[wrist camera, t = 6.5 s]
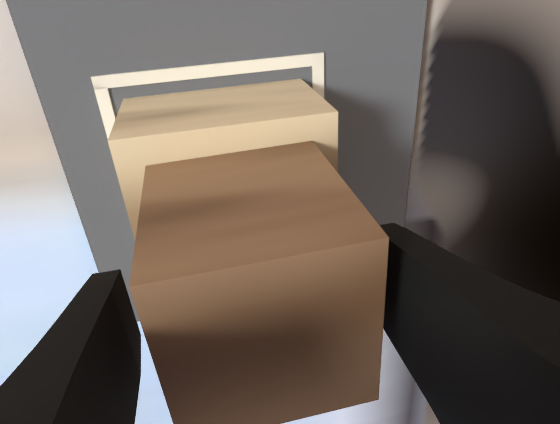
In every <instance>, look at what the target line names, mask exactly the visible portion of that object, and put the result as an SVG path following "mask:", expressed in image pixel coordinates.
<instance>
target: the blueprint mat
mask: <svg viewBox="0 0 560 424" xmlns="http://www.w3.org/2000/svg"><path fill="white" fill-rule="evenodd" d="M427 1H428V0H6V2H7V5H8V8H9V11H10V14H11V17H12V20H13V23H14V26H15V29H16V32H17V35H18V37H19V40H20V43H21V46H22V49H23V52H24V55H25V58H26V61H27V64H28V67H29V70H30V73H31V76H32V78H33V81H34V84H35V87H36V90H37V93H38V96H39V99H40V102H41V105H42V108H43V111H44V114H45V117H46V119H47V122H48V125H49V128H50V131H51V134H52V137H53V140H54V143H55V146H56V149H57V152H58V155H59V158H60V160H61V163H62V166H63V169H64V172H65V175H66V178H67V181H68V184H69V187H70V190H71V193H72V196H73V199H74V201H75V204H76V207H77V210H78V213H79V216H80V219H81V222H82V225H83V228H84V231H85V234H86V237H87V239H88V242H89V245H90V248H91V251H92V254H93V257H94V260H95V263H96V266H97V269H98V272H99V273H101V272H107V271H112V270H118V269H121V272H122V276H123V279H124V282H125V285H126V289H127V292H128V295H129V298H130V302H131V305H132V308H133V311H134V314H135V318H136V321H140V319H139V316H138V313H137V310H136V307H135V304H134V301H133V298H132V295H131V292H130V289H129V283H130V276H131V268H132V261H133V254H134V246H135V238H134V235H133V231H132V228H131V224H130V220H129V217H128V213H127V209H126V206H125V202H124V199H123V195H122V191H121V188H120V184H119V180H118V177H117V173H116V170H115V166H114V162H113V159H112V155H111V151H110V148H109V144H108V138H109V135H110V133H111V130H112V127H113V125H114V122H115V119H116V117H117V114H118V111H119V109H120V106H121V103H122V101H123V99H124V98H133V97H142V96H151V95H160V94H168V93H177V92H186V91H195V90H204V89H213V88H222V87H231V86H239V85H248V84H257V83H266V82H275V81H284V80H293V79H302V80H303V81H304V82H305V83H307V84H308V85H309V86H310V87H311V88H312V89H313V90H314V91H316V92H317V93H318V94H319V95H320V96H321V97H322V98H323V99H325V100H326V101H327V102H328V103H329V104H330V105H331V106H332V107H334V108H335V109H336V110H337V111H338V174H339V175H340V176H341V178H342V179H343V180H344V181H345V183H346V184H347V185H348V186H349V188H350V189H351V190H352V191H353V193H354V194H355V195H356V197H357V198H358V199H359V200H360V202H361V203H362V204H363V205H364V207H365V208H366V209H367V210H368V212H369V213H370V214H371V215H372V217H373V218H374V219H375V220H376V222H377V223H378V224H379V225H383V224H389V223H396V224H398V225H400V226H402V227H404V224H405V215H406V205H407V195H408V185H409V176H410V166H411V156H412V147H413V137H414V127H415V117H416V108H417V98H418V88H419V79H420V69H421V59H422V49H423V40H424V30H425V20H426V11H427Z"/></svg>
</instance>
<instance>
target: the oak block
mask: <svg viewBox="0 0 560 424" xmlns="http://www.w3.org/2000/svg"><path fill="white" fill-rule="evenodd" d="M306 141H313V142H314V144H315V145H316V146H317V147H318V149H319V150H320V151H321V152H322V154H323V155H324V156H325V157H326V159H327V160H328V161H329V162H330V164H331V165H332V166H333V168H334V169H335V170H336V171H337V173H338V111H337V110H336V109H335V108H334V107H332V106H331V105H330V104H329V103H328V102H327V101H326V100H325V99H323V98H322V97H321V96H320V95H319V94H318V93H317V92H316V91H314V90H313V89H312V88H311V87H310V86H309V85H308V84H307V83H305V82H304V81H303V80H302V79H293V80H284V81H275V82H266V83H257V84H248V85H239V86H231V87H222V88H213V89H204V90H195V91H186V92H177V93H168V94H160V95H151V96H142V97H133V98H124V99H123V101H122V103H121V106H120V109H119V111H118V114H117V117H116V119H115V122H114V125H113V127H112V130H111V133H110V135H109V138H108V144H109V148H110V151H111V155H112V159H113V162H114V166H115V170H116V173H117V177H118V180H119V184H120V188H121V191H122V195H123V199H124V202H125V206H126V209H127V213H128V217H129V220H130V224H131V228H132V231H133V235H134V238H135V239H136V232H137V225H138V217H139V210H140V203H141V195H142V188H143V181H144V173H145V166H147V165H153V164H160V163H167V162H173V161H180V160H187V159H193V158H200V157H207V156H213V155H220V154H227V153H233V152H240V151H246V150H253V149H260V148H266V147H273V146H280V145H286V144H293V143H300V142H306Z"/></svg>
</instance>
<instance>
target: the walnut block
mask: <svg viewBox="0 0 560 424" xmlns="http://www.w3.org/2000/svg"><path fill="white" fill-rule="evenodd" d="M388 247H389V237H388V236H387V234H386V233H385V232H384V231H383V229H382V228H381V227H380V226H379V224H378V223H377V222H376V220H375V219H374V218H373V217H372V215H371V214H370V213H369V212H368V210H367V209H366V208H365V207H364V205H363V204H362V203H361V202H360V200H359V199H358V198H357V197H356V195H355V194H354V193H353V191H352V190H351V189H350V188H349V186H348V185H347V184H346V183H345V181H344V180H343V179H342V178H341V176H340V175H339V174H338V173H337V171H336V170H335V169H334V168H333V166H332V165H331V164H330V162H329V161H328V160H327V159H326V157H325V156H324V155H323V154H322V152H321V151H320V150H319V149H318V147H317V146H316V145H315V144H314V142H313V141H306V142H300V143H293V144H286V145H280V146H273V147H266V148H260V149H253V150H246V151H240V152H233V153H227V154H220V155H213V156H207V157H200V158H193V159H187V160H180V161H173V162H167V163H160V164H153V165H147V166H145V173H144V181H143V188H142V195H141V203H140V210H139V217H138V225H137V232H136V239H135V246H134V254H133V261H132V268H131V276H130V283H129V289H130V292H131V295H132V298H133V301H134V304H135V307H136V310H137V313H138V316H139V319H140V322H141V325H142V328H143V332H144V335H145V338H146V341H147V344H148V347H149V350H150V353H151V356H152V359H153V362H154V365H155V368H156V372H157V375H158V378H159V381H160V384H161V387H162V390H163V393H164V396H165V399H166V402H167V405H168V408H169V412H170V415H171V418H172V421H173V424H281V423H285V422H289V421H293V420H298V419H302V418H306V417H310V416H314V415H318V414H322V413H326V412H330V411H334V410H338V409H342V408H346V407H350V406H354V405H359V404H363V403H367V402H371V401H375V400H378V399H379V384H380V368H381V353H382V338H383V323H384V308H385V293H386V277H387V262H388Z"/></svg>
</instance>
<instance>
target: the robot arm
mask: <svg viewBox="0 0 560 424" xmlns="http://www.w3.org/2000/svg"><path fill="white" fill-rule="evenodd" d="M379 226H380V227H381V228H382V229H383V231H384V232H385V233H386V234H387V236H388V237H389V247H388V262H387V277H386V293H385V308H384V323H383V328H384V330H385V332H386V334H387V335H388V337H389V339H390V340H391V342H392V344H393V345H394V347H395V349H396V350H397V352H398V354H399V355H400V357H401V358H402V360H403V362H404V363H405V365H406V367H407V368H408V370H409V372H410V373H411V375H412V377H413V378H414V380H415V381H416V383H417V385H418V386H419V388H420V390H421V391H422V393H423V395H424V396H425V398H426V399H427V401H428V403H429V405H430V406H431V408H432V410H433V412H434V414H435V415H436V417H437V419H438V421H439V423H440V424H560V302H557V301H555V300H552V299H549V298H547V297H544V296H542V295H539V294H537V293H534V292H532V291H529V290H527V289H525V288H522V287H520V286H518V285H515V284H513V283H511V282H509V281H507V280H505V279H502V278H500V277H498V276H496V275H494V274H492V273H489V272H487V271H485V270H483V269H481V268H479V267H477V266H475V265H473V264H471V263H469V262H467V261H465V260H464V259H462V258H460V257H458V256H456V255H454V254H452V253H450V252H448V251H447V250H445V249H443V248H441V247H439V246H437V245H436V244H434V243H432V242H430V241H428V240H426V239H425V238H423V237H421V236H419V235H417V234H415V233H413V232H412V231H410V230H408V229H406V228H404V227H402V226H400V225H398V224H396V223H389V224H383V225H379ZM140 376H141V334H140V331H139V327H138V324H137V321H136V318H135V314H134V311H133V308H132V305H131V302H130V298H129V295H128V292H127V289H126V285H125V282H124V279H123V276H122V272H121V269H118V270H112V271H107V272H101V273H95V274H92V275H91V276H90V278H89V279H88V280H87V281H86V283H85V284H84V285H83V286H82V288H81V289H80V290H79V292H78V293H77V294H76V296H75V297H74V298H73V300H72V301H71V302H70V303H69V305H68V306H67V307H66V309H65V310H64V311H63V313H62V314H61V315H60V316H59V318H58V319H57V320H56V322H55V323H54V324H53V325H52V327H51V328H50V329H49V330H48V331H47V333H46V334H45V335H44V336H43V338H42V339H41V340H40V341H39V343H38V344H37V345H36V346H35V348H34V349H33V350H32V351H31V352H30V353H29V354H28V356H27V357H26V358H25V359H24V360H23V361H22V362H21V364H20V365H19V366H18V367H17V368H16V369H15V370H14V371H13V373H12V374H11V375H10V376H9V377H8V378H7V379H6V381H5V382H4V383H3V384H2V385H1V386H0V424H134V423H135V416H136V408H137V400H138V392H139V385H140Z"/></svg>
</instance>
